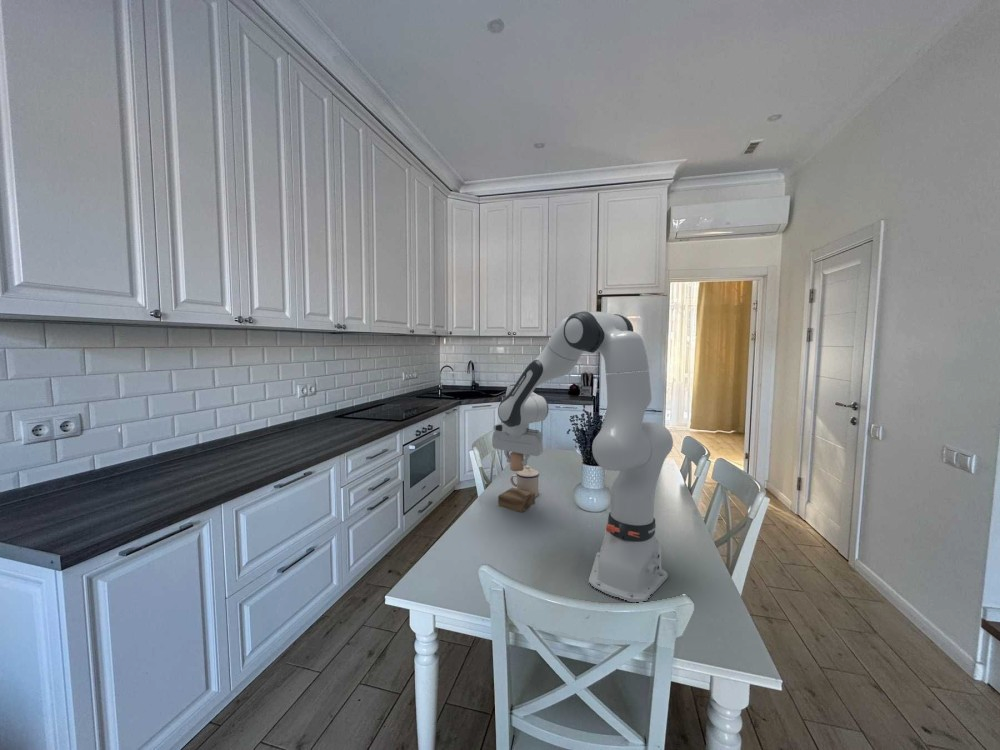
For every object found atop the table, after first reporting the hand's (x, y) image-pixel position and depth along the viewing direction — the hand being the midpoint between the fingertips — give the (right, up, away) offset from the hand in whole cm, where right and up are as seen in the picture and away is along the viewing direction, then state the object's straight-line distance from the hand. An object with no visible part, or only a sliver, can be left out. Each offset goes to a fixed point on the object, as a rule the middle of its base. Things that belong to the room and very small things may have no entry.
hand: (516, 463), depth 147 cm
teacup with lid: (+4, -15, +12) cm, 20 cm away
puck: (0, -2, 0) cm, 2 cm away
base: (0, -16, +1) cm, 16 cm away
